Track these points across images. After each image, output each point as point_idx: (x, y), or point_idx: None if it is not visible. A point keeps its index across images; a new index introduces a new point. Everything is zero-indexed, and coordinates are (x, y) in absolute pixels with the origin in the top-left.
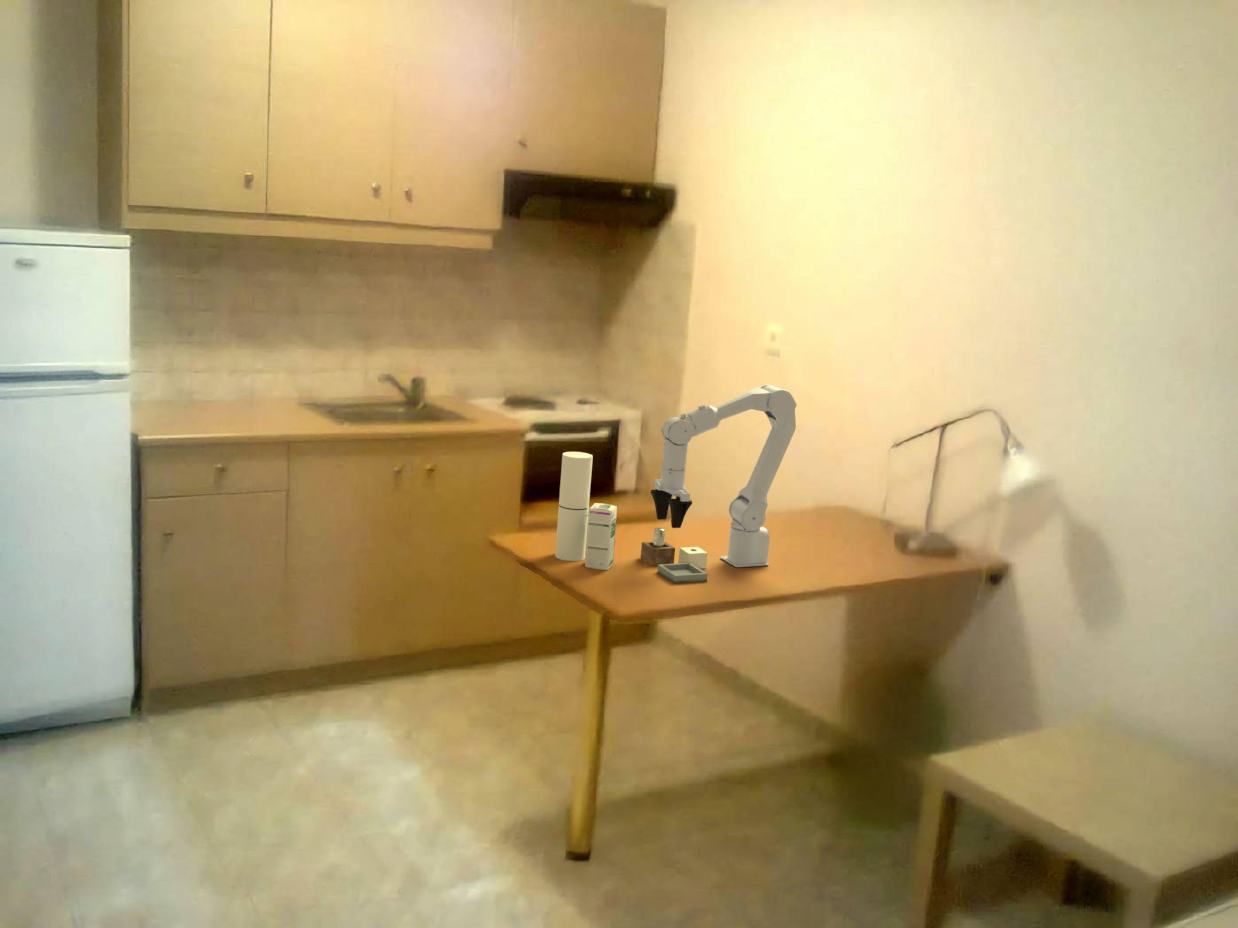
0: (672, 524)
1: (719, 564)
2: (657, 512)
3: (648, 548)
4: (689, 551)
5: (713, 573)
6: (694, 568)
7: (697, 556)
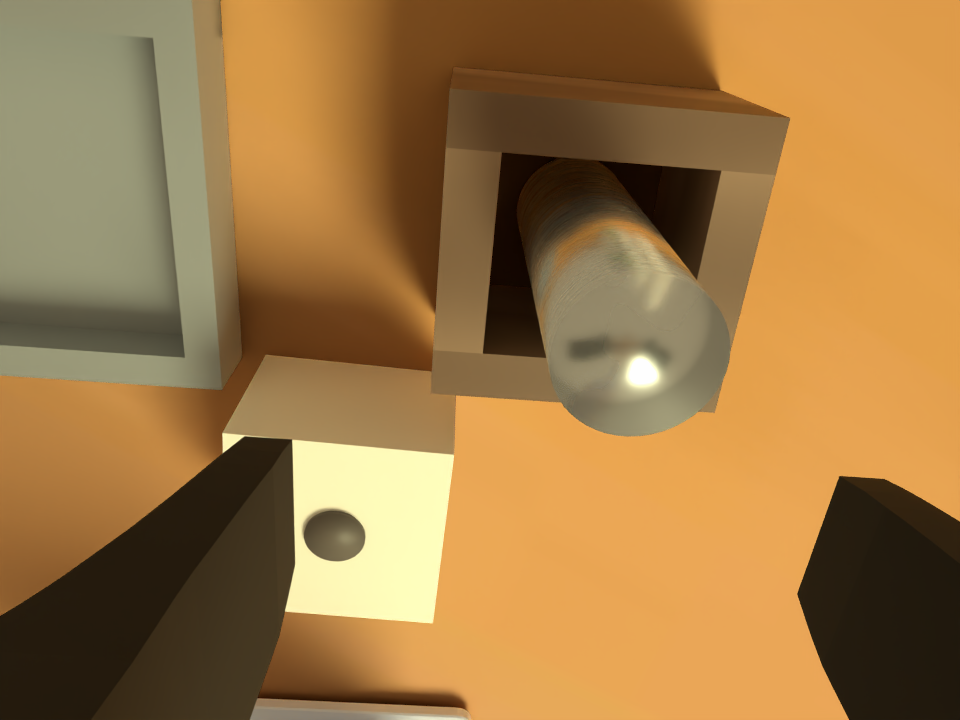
0: (218, 460)
1: (340, 638)
2: (931, 542)
3: (581, 96)
4: (301, 477)
5: (125, 492)
6: (59, 344)
7: None
